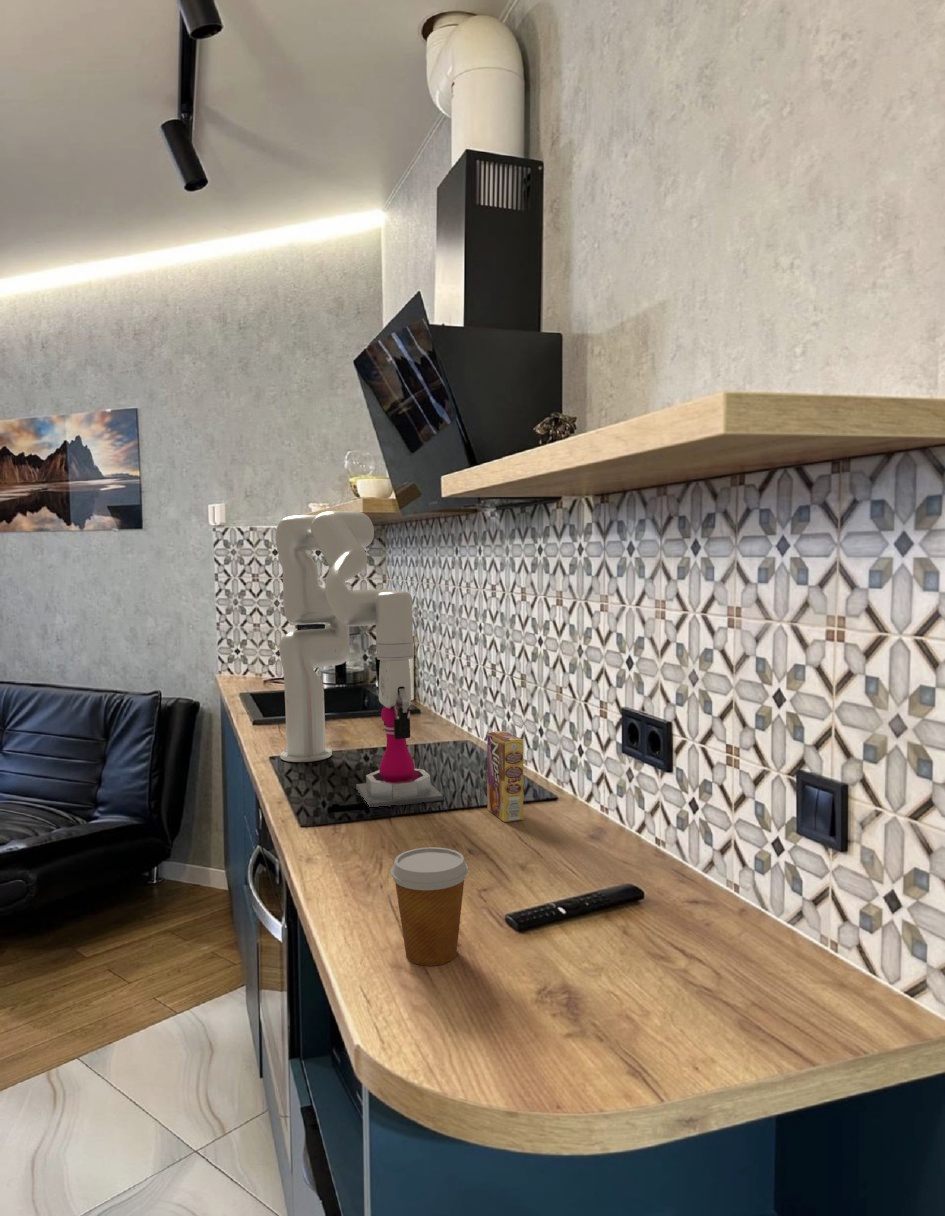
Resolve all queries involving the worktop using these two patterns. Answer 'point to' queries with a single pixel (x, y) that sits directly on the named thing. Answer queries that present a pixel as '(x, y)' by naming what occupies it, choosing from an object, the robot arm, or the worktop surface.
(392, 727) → the pepper mill
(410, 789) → the collar stand
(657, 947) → the worktop surface
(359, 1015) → the worktop surface
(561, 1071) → the worktop surface
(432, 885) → the disposable coffee cup
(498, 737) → the candy box
